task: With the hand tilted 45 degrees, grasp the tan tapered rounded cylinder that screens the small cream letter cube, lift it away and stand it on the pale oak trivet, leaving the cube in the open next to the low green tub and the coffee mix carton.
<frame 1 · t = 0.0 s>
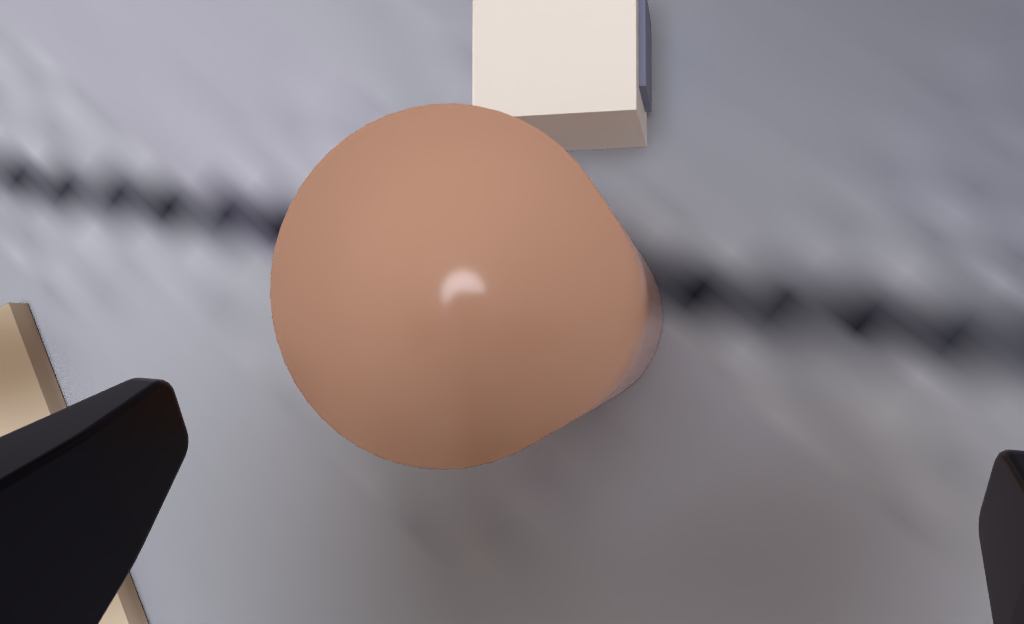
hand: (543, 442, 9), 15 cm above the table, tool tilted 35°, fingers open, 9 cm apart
tan tapered rounded cylinder: (569, 315, 24), on the table
letter cube: (576, 82, 25), on the table
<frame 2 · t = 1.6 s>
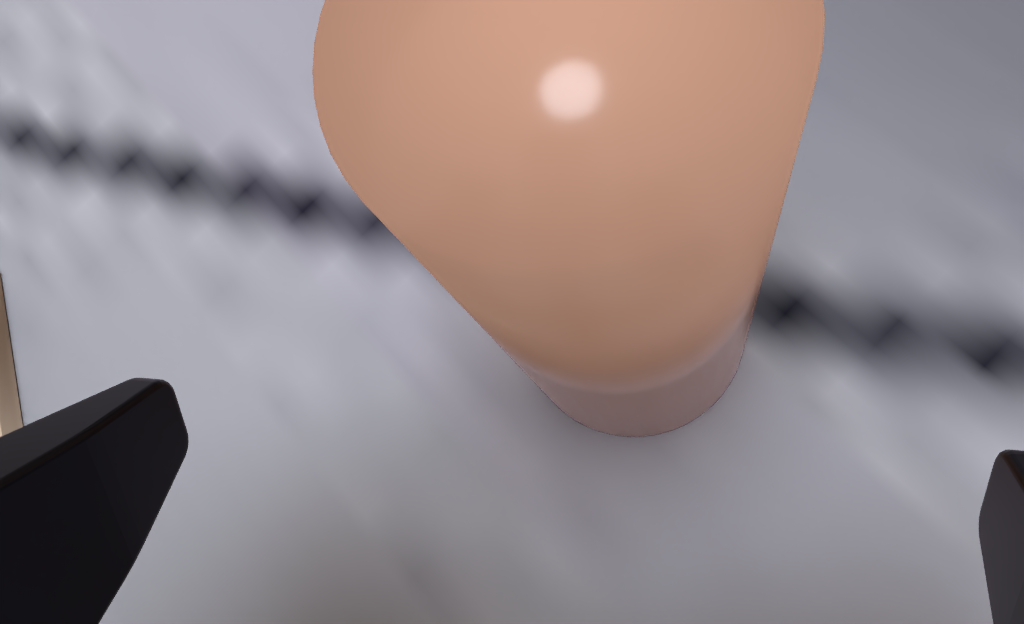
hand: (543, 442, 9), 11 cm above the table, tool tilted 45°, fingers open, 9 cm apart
tan tapered rounded cylinder: (632, 327, 21), on the table
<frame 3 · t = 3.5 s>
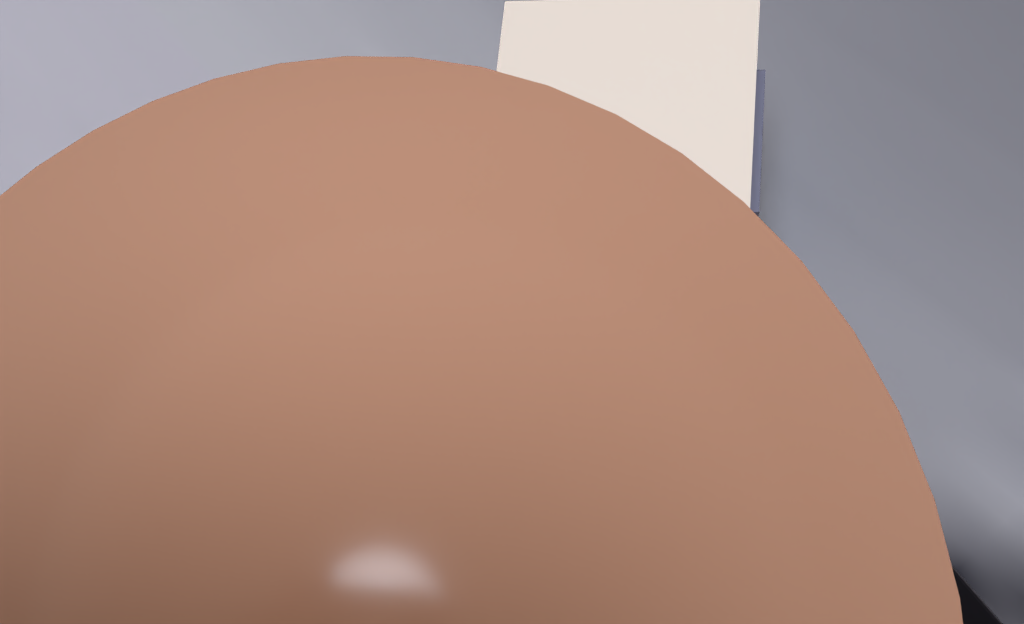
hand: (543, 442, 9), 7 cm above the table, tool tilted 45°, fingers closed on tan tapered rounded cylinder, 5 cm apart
tan tapered rounded cylinder: (595, 560, 15), on the table, touching gripper
letter cube: (634, 209, 17), on the table
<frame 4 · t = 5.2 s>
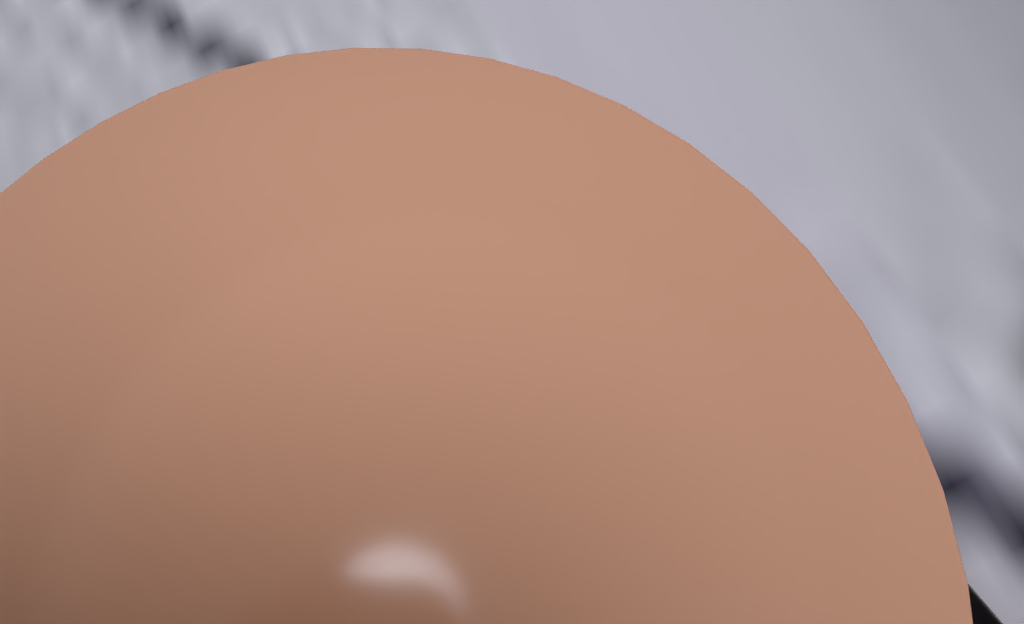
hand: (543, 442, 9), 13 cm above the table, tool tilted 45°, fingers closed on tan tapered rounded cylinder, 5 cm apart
tan tapered rounded cylinder: (597, 558, 15), point 7 cm above the table, touching gripper
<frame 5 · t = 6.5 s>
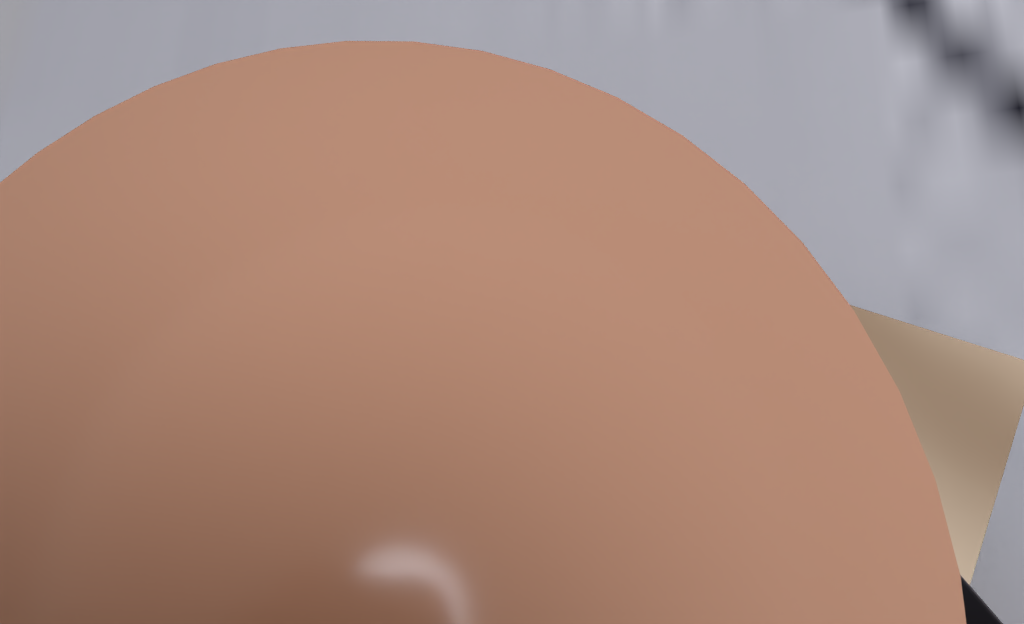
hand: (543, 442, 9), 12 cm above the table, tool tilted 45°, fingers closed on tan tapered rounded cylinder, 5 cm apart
tan tapered rounded cylinder: (596, 556, 15), point 5 cm above the table, touching gripper
trivet: (619, 545, 20), on the table
when the fingers open (9 cm above the table, at t = 7.4 s): tan tapered rounded cylinder drops 1 cm, resting on trivet.
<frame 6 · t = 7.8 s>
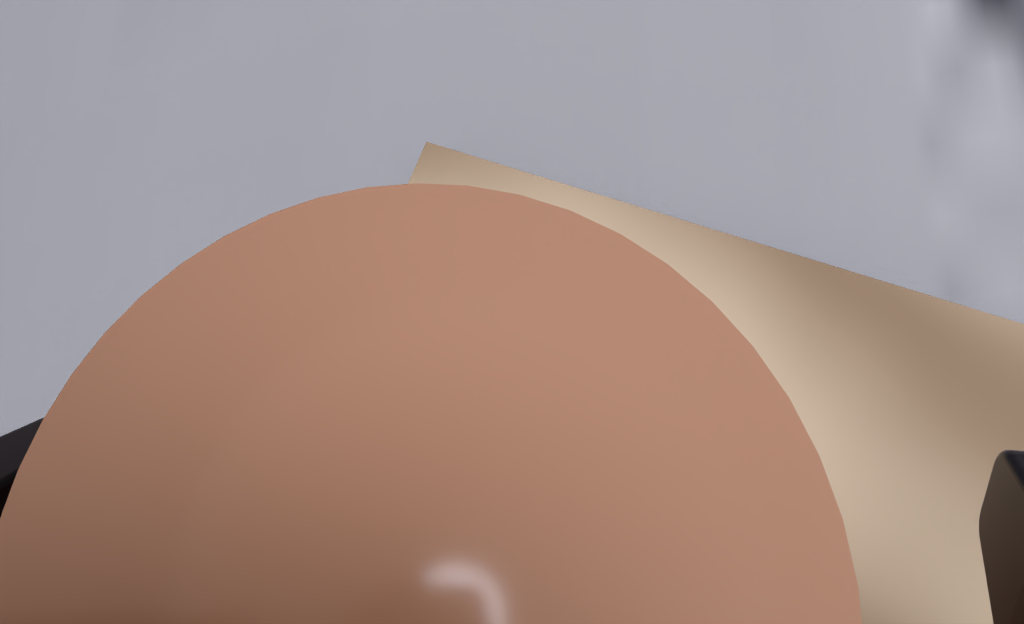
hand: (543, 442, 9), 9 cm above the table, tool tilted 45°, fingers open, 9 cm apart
tan tapered rounded cylinder: (603, 561, 17), point 1 cm above the table, touching trivet
trivet: (608, 557, 18), on the table
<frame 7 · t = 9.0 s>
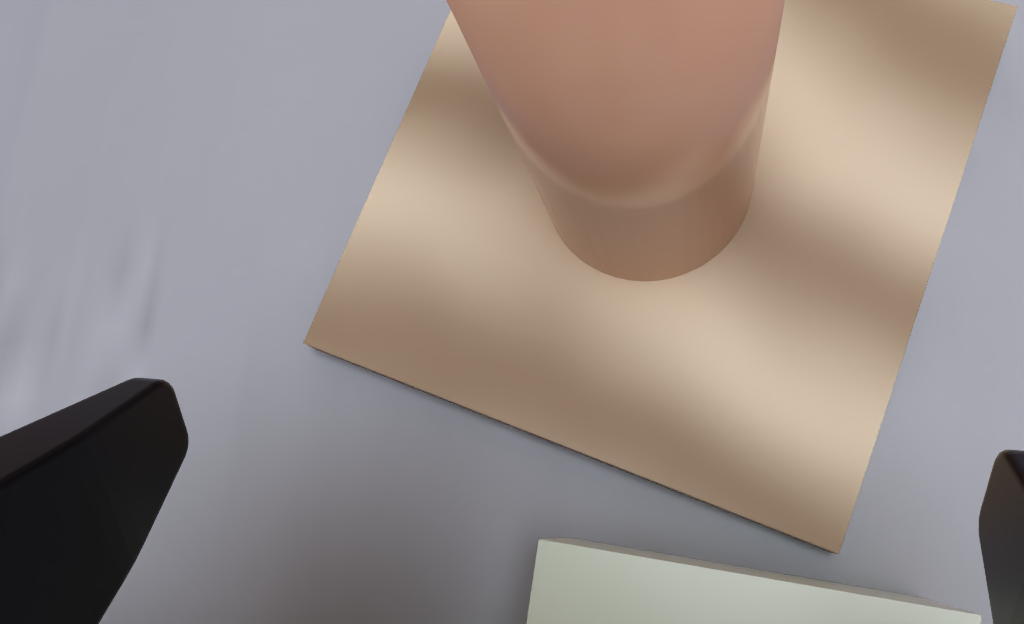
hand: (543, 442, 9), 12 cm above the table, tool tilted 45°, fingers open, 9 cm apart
tan tapered rounded cylinder: (646, 182, 22), point 1 cm above the table, touching trivet
trivet: (648, 192, 23), on the table
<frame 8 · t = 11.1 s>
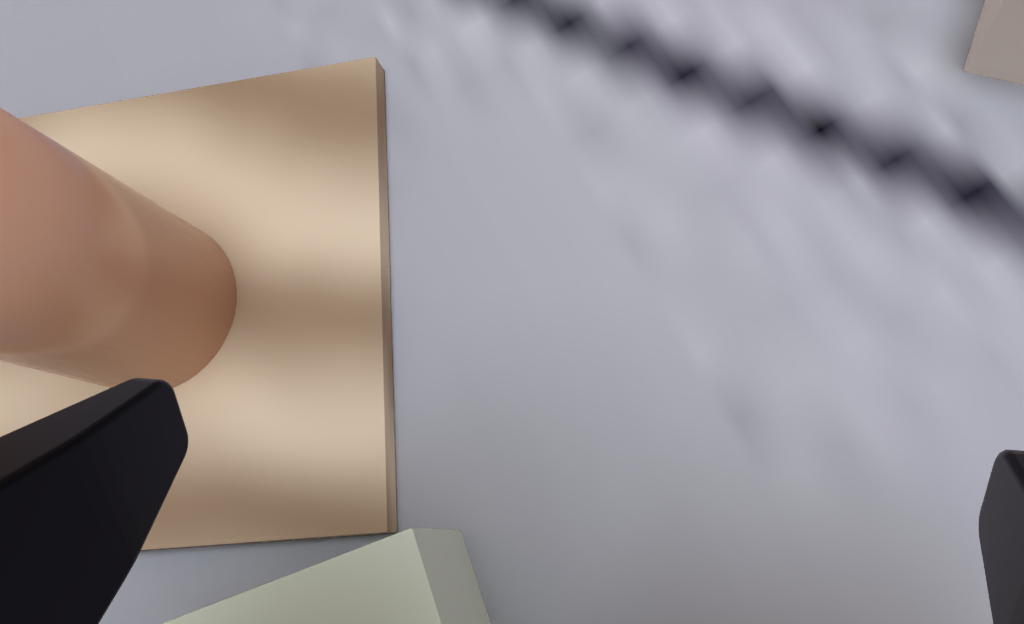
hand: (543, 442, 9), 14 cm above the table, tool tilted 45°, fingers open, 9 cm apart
tan tapered rounded cylinder: (155, 306, 26), point 1 cm above the table, touching trivet
trivet: (170, 311, 26), on the table
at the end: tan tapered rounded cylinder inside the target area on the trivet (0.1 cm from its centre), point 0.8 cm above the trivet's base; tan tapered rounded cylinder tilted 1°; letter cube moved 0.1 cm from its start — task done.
